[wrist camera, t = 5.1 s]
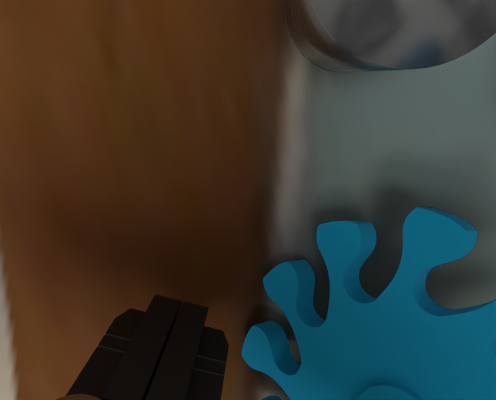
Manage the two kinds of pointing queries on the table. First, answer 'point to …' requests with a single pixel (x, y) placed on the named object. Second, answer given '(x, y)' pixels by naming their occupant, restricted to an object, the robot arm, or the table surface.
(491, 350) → the gear
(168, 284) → the table surface
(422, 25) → the spacers
